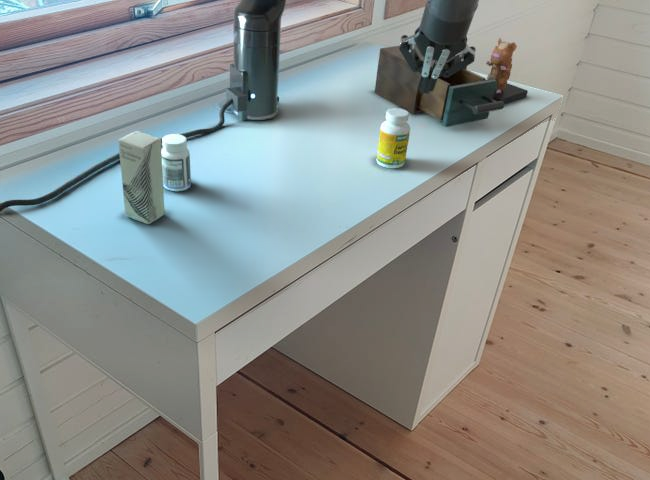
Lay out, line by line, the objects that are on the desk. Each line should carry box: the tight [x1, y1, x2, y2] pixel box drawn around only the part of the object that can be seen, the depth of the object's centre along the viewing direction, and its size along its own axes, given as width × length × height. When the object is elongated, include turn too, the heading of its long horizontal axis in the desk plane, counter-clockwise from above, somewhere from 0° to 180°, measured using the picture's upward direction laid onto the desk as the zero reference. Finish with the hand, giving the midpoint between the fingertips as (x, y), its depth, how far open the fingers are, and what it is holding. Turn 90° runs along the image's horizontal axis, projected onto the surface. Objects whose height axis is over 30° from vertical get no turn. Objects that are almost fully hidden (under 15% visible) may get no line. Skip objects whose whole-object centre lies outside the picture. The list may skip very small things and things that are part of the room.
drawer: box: [417, 68, 505, 128], centre depth 142 cm, size 19×11×8 cm, turn 28°
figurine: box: [485, 37, 529, 106], centre depth 153 cm, size 10×10×12 cm
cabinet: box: [374, 43, 468, 116], centre depth 150 cm, size 15×13×10 cm
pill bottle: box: [161, 133, 192, 192], centre depth 115 cm, size 5×5×8 cm
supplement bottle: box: [376, 107, 411, 169], centre depth 124 cm, size 5×5×10 cm
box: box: [118, 130, 166, 225], centre depth 105 cm, size 5×4×13 cm
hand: (424, 89), depth 119 cm, fingers closed
